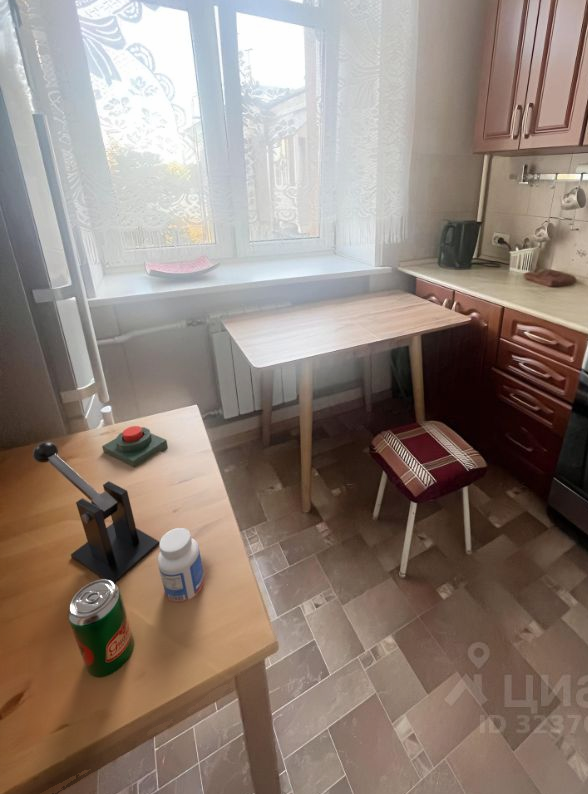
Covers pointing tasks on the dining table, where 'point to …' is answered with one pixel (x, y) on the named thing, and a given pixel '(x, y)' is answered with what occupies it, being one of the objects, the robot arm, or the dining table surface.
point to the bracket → (112, 538)
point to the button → (132, 434)
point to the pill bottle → (180, 565)
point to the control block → (135, 448)
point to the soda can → (101, 627)
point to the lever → (75, 478)
